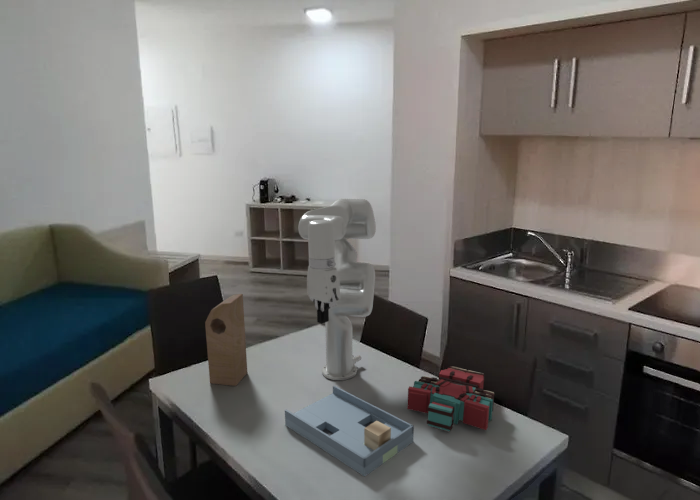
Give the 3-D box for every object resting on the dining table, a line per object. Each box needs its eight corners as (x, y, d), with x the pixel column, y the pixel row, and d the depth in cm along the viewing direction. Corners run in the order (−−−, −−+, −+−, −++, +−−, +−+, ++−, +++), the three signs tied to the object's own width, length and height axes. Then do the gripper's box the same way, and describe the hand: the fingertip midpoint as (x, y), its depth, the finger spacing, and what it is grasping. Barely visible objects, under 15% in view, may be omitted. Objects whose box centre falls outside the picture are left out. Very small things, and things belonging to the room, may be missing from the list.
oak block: (376, 436, 136) (376, 420, 135) (390, 444, 133) (390, 427, 131) (364, 444, 133) (364, 428, 131) (378, 452, 129) (378, 436, 128)
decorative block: (236, 386, 168) (230, 303, 161) (209, 383, 170) (203, 301, 163) (247, 372, 178) (242, 293, 171) (222, 370, 180) (216, 292, 173)
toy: (431, 382, 172) (398, 423, 146) (432, 357, 170) (399, 394, 144) (502, 399, 161) (480, 447, 135) (505, 373, 159) (483, 416, 133)
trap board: (334, 399, 160) (334, 385, 158) (413, 441, 138) (413, 425, 137) (285, 425, 146) (284, 410, 145) (364, 476, 124) (364, 459, 123)
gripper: (349, 264, 140) (349, 325, 145) (314, 256, 151) (315, 312, 155) (330, 270, 135) (331, 332, 140) (295, 260, 146) (297, 318, 150)
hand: (323, 321), depth 147 cm, fingers closed
